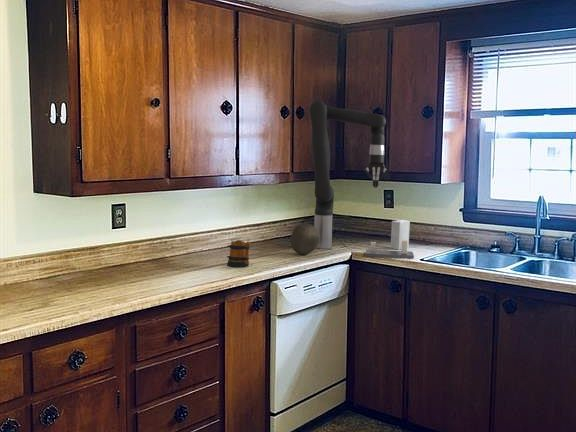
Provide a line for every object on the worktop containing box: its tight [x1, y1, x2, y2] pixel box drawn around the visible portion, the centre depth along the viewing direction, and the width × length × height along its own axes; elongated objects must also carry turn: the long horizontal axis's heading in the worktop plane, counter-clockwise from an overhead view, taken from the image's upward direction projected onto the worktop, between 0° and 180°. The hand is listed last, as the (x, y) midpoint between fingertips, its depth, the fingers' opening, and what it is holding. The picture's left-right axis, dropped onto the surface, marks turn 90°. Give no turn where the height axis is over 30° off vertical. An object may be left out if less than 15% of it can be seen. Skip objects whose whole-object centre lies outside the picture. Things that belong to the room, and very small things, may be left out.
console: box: [365, 241, 415, 259], centre depth 315 cm, size 23×12×6 cm, turn 83°
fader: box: [400, 240, 408, 254], centre depth 313 cm, size 2×3×6 cm
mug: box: [226, 239, 251, 269], centre depth 280 cm, size 13×10×12 cm
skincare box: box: [390, 219, 411, 251], centre depth 336 cm, size 8×6×15 cm
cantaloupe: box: [290, 223, 320, 256], centre depth 311 cm, size 14×14×15 cm
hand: (375, 187), depth 331 cm, fingers closed
